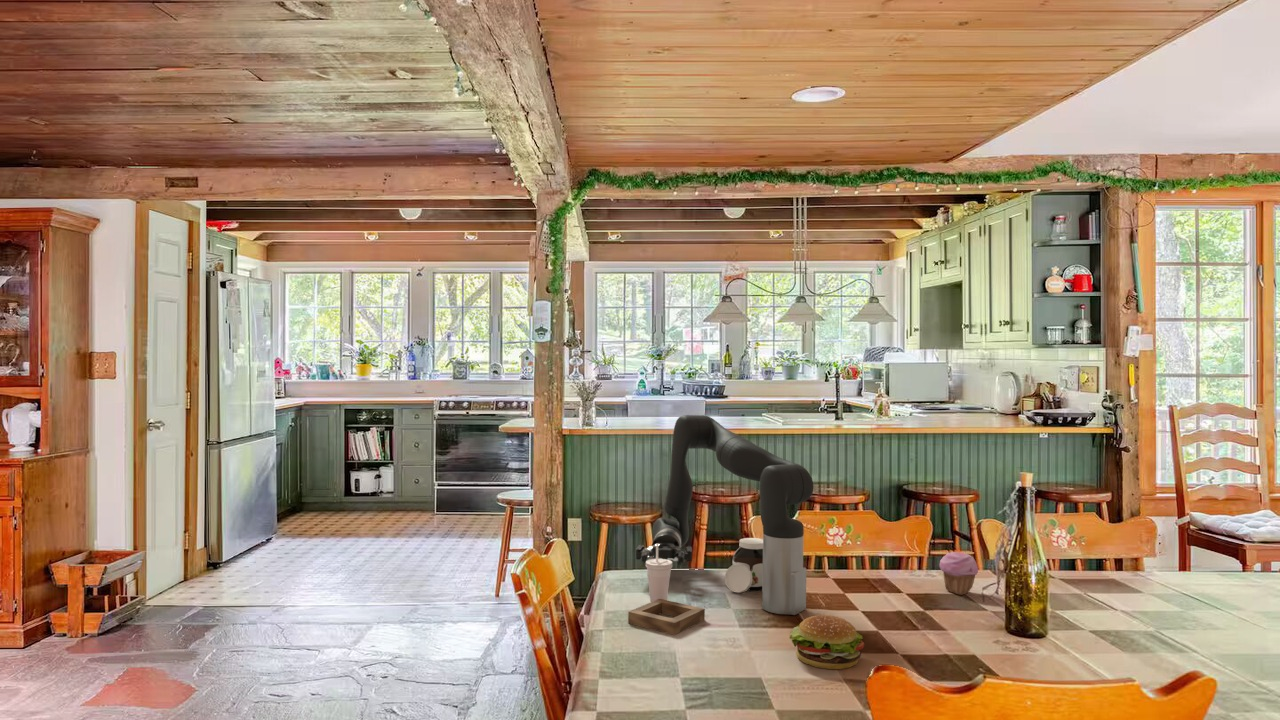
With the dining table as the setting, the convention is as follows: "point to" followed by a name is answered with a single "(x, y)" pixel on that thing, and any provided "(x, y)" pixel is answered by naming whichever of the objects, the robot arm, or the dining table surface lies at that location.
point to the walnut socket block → (650, 617)
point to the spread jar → (746, 566)
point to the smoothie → (658, 577)
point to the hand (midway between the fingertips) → (662, 559)
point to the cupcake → (958, 572)
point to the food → (827, 642)
